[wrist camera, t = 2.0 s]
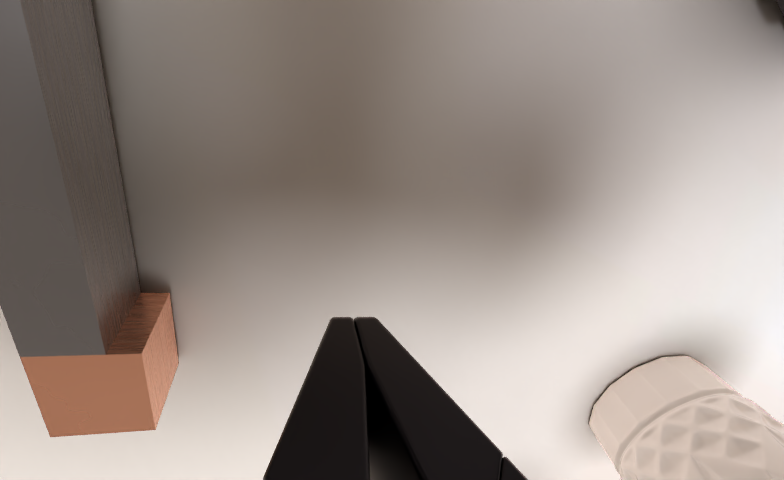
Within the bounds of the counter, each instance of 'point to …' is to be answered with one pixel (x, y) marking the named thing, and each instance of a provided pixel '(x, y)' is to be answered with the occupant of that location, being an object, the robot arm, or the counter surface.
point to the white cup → (685, 426)
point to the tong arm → (72, 233)
